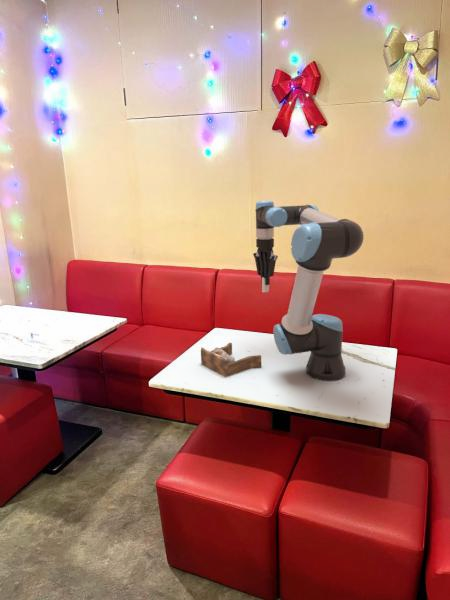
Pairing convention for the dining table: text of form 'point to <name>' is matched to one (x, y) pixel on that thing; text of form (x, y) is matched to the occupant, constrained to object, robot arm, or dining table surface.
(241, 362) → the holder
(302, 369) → the dining table surface
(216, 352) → the mottled brown rock
